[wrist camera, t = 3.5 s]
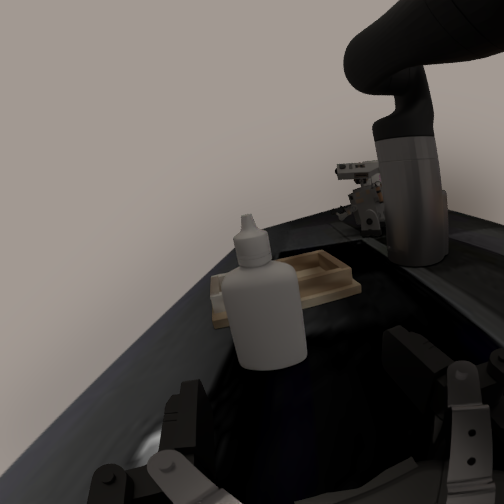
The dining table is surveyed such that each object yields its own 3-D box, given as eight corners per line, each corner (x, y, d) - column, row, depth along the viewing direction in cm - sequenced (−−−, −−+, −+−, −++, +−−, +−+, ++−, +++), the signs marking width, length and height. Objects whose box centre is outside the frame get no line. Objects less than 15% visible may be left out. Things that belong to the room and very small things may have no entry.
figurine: (345, 228, 63) (336, 164, 59) (392, 226, 56) (384, 159, 53) (334, 238, 56) (323, 165, 52) (388, 237, 49) (379, 159, 46)
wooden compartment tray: (322, 263, 43) (320, 244, 42) (361, 292, 30) (360, 268, 30) (214, 287, 42) (209, 268, 41) (214, 329, 29) (207, 304, 28)
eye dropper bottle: (258, 340, 25) (232, 212, 23) (314, 348, 22) (296, 205, 19) (232, 367, 22) (195, 225, 19) (293, 381, 19) (266, 218, 16)
